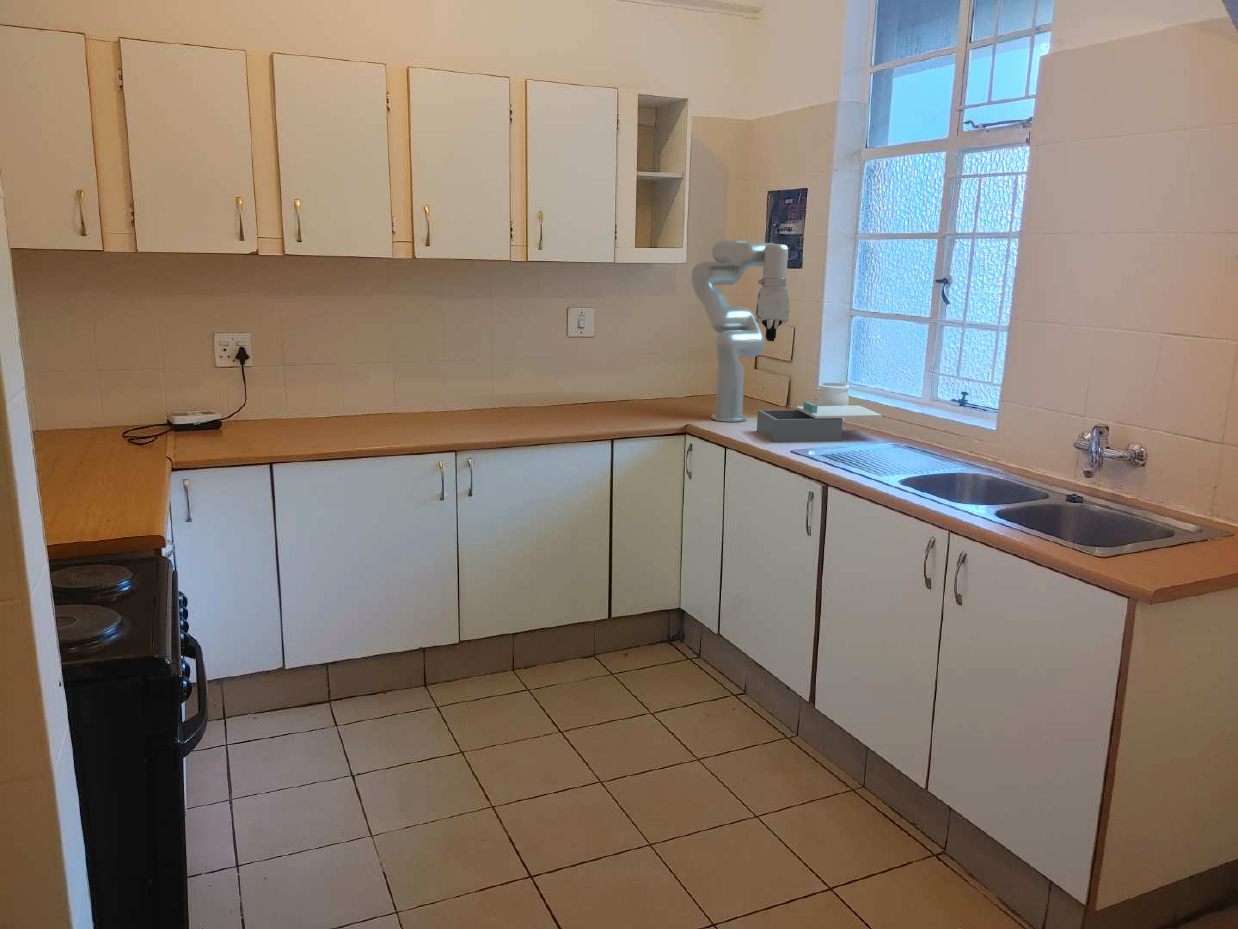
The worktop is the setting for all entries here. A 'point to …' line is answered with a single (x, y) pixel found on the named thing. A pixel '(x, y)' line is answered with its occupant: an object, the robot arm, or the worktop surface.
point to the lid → (837, 411)
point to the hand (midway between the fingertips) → (770, 340)
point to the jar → (833, 395)
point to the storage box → (797, 426)
